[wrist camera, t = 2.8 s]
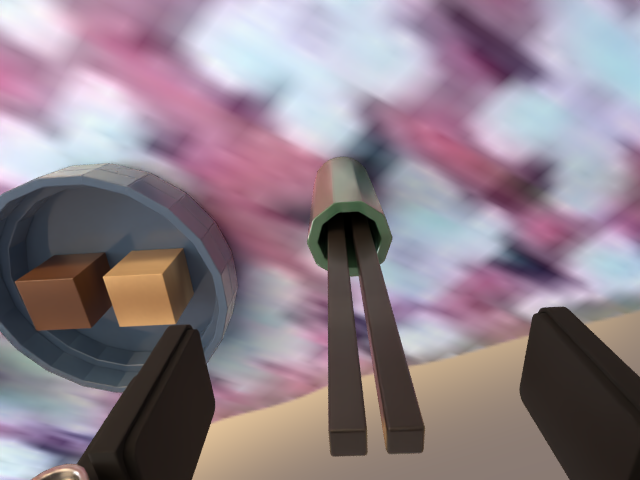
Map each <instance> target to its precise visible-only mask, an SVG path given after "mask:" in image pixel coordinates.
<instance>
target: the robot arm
mask: <svg viewBox="0 0 640 480" xmlns="http://www.w3.org/2000/svg"><path fill="white" fill-rule="evenodd" d="M520 396H521V399H522V401H523V403H524V405H525V407H526V408H527V410H528V411H529V413H530V415H531V417H532V418H533V420H534V422H535V423H536V425H537V426H538V428H539V430H540V431H541V433H542V435H543V436H544V438H545V440H546V441H547V443H548V445H549V446H550V448H551V450H552V451H553V453H554V455H555V456H556V458H557V459H558V461H559V463H560V464H561V466H562V468H563V469H564V471H565V473H566V474H567V476H568V478H569V479H570V480H640V377H639V376H638V375H637V374H636V373H635V372H634V371H633V370H632V369H631V368H630V367H628V366H627V365H626V364H625V363H624V362H623V361H622V360H621V359H620V358H619V357H618V356H617V355H616V354H615V353H614V352H613V351H612V350H611V349H610V348H609V347H607V346H606V345H605V344H604V343H603V342H602V341H601V340H600V339H599V338H598V337H597V336H596V335H594V333H593V332H592V331H591V330H590V329H589V328H588V327H587V326H585V325H584V324H583V323H582V322H581V321H580V320H579V319H578V318H577V317H576V316H575V315H574V314H573V313H572V312H571V311H570V310H569V309H567V308H566V307H548V308H541V309H540V310H539V312H538V313H536V314H534V315H533V317H532V322H531V328H530V333H529V339H528V345H527V350H526V355H525V361H524V367H523V372H522V378H521V383H520ZM214 411H215V398H214V394H213V390H212V386H211V381H210V377H209V373H208V368H207V364H206V360H205V356H204V351H203V347H202V343H201V338H200V334H199V331H198V330H197V329H193V328H192V326H191V325H189V324H188V325H170V326H168V328H167V329H166V330H165V332H164V334H163V335H162V337H161V338H160V340H159V341H158V343H157V344H156V346H155V348H154V349H153V351H152V352H151V354H150V355H149V357H148V359H147V360H146V362H145V363H144V365H143V366H142V368H141V370H140V371H139V373H138V374H137V375H136V376H134V378H133V379H132V380H131V381H130V383H129V384H128V386H127V387H126V389H125V390H124V392H123V394H122V395H121V397H120V398H119V400H118V401H117V403H116V404H115V406H114V407H113V409H112V411H111V412H110V414H109V415H108V417H107V418H106V420H105V421H104V423H103V424H102V426H101V427H100V429H99V431H98V432H97V434H96V435H95V437H94V438H93V440H92V441H91V443H90V444H89V446H88V448H87V449H86V451H85V452H84V454H83V455H82V457H81V458H80V460H79V461H78V463H77V464H64V465H59V466H55V467H53V468H51V469H48V470H46V471H44V472H42V473H40V474H39V475H37V476H36V477H34V478H33V479H31V480H192V477H193V474H194V471H195V469H196V466H197V463H198V459H199V456H200V454H201V450H202V447H203V445H204V442H205V439H206V436H207V433H208V430H209V427H210V424H211V421H212V418H213V415H214Z"/></svg>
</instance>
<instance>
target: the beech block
mask: <svg viewBox="0 0 640 480" xmlns="http://www.w3.org/2000/svg"><path fill="white" fill-rule="evenodd" d="M103 279H104V282H105V285H106V288H107V291H108V294H109V297H110V300H111V302H112V305H113V308H114V311H115V314H116V317H117V320H118V323H119V326H120V327H127V326H148V325H170V324H176V323H177V321H178V320H179V318H180V316H181V315H182V313H183V311H184V310H185V308H186V306H187V305H188V303H189V301H190V300H191V298H192V296H193V295H194V291H193V287H192V283H191V278H190V274H189V270H188V265H187V261H186V257H185V253H184V248H176V249H158V250H140V251H131V252H130V253H129V254H128V255H126V256H125V257H124V258H123V259H122V260H121V261H120V262H119V263H118V264H117V265H115V266H114V267H113V268H112V269H111V270H110V271H109V272H108V273H107V274H106V275H104V276H103Z"/></svg>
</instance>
